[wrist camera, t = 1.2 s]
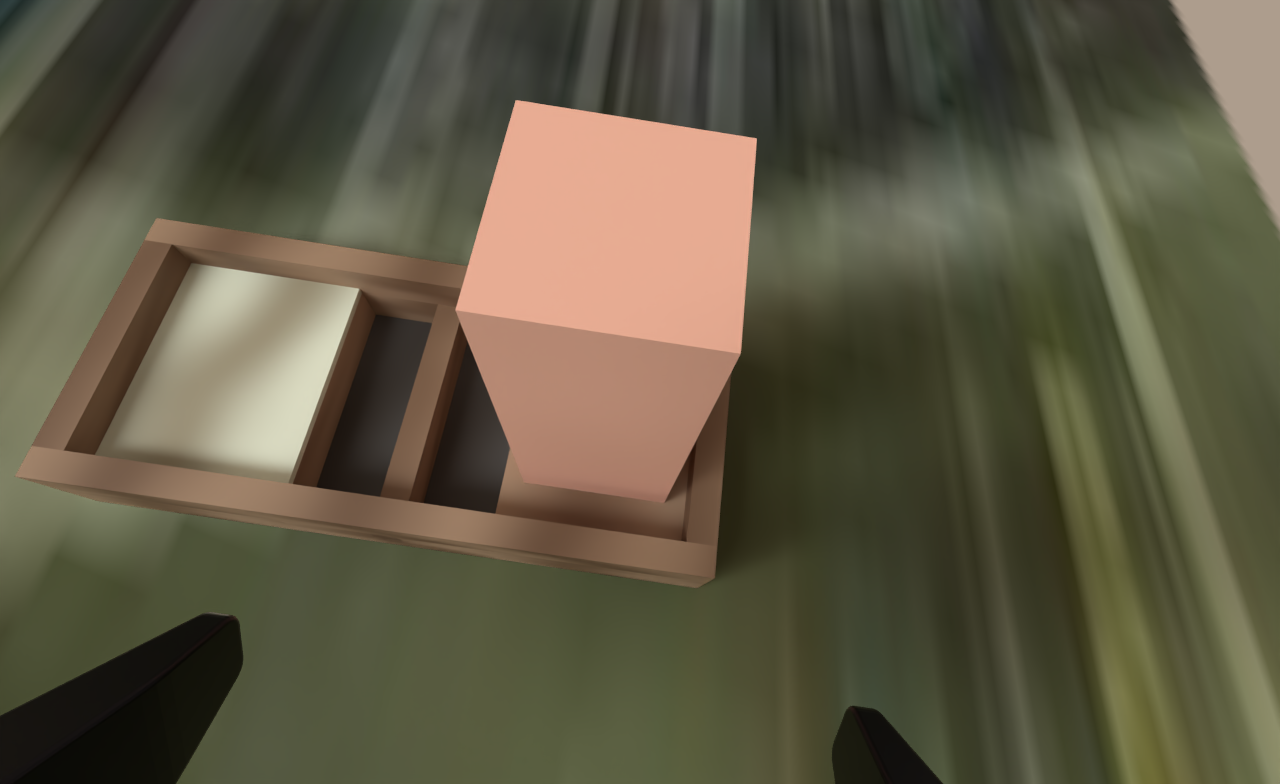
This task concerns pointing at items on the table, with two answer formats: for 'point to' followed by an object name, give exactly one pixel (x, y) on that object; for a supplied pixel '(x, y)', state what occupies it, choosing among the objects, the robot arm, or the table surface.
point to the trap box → (336, 414)
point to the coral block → (608, 293)
